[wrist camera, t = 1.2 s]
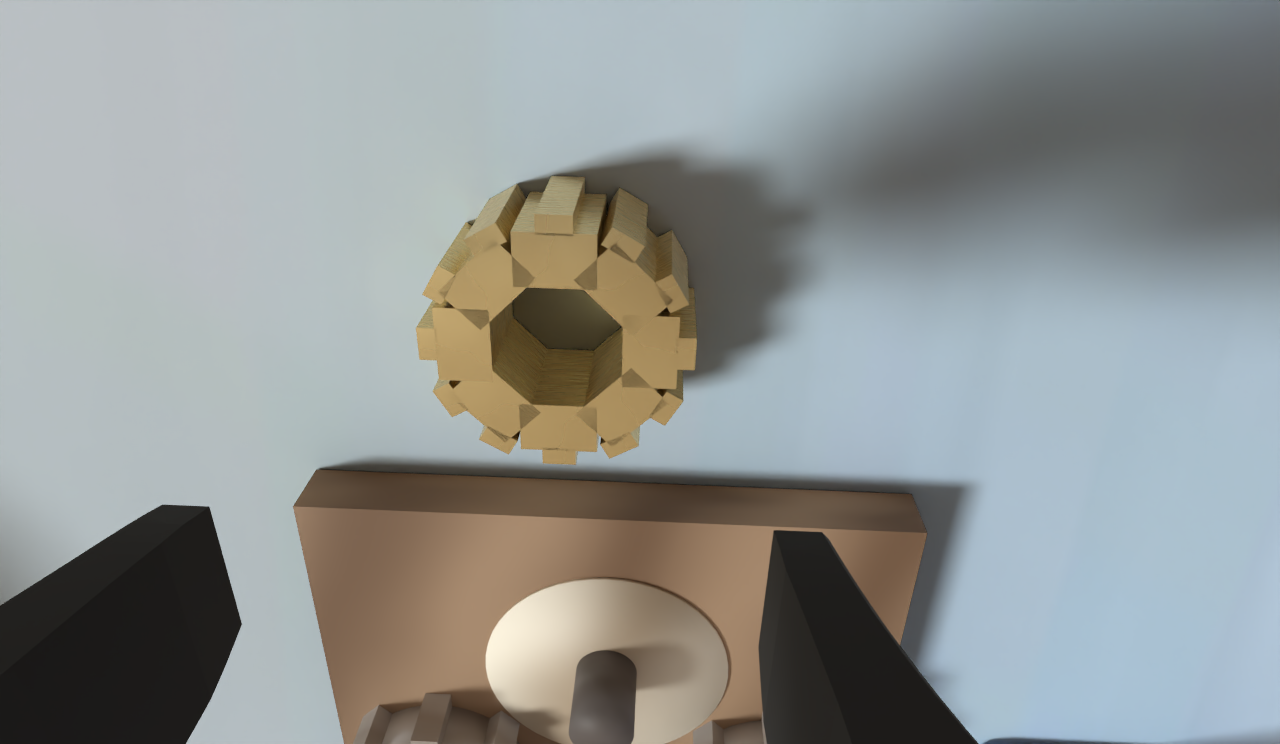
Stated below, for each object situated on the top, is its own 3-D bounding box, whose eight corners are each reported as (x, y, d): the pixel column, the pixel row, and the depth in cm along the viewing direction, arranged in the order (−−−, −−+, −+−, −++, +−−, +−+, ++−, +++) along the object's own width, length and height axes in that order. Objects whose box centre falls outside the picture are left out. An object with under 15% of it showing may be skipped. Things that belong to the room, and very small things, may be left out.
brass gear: (700, 181, 17) (704, 220, 15) (686, 408, 20) (688, 469, 18) (436, 171, 18) (402, 208, 15) (457, 398, 20) (430, 458, 18)
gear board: (911, 494, 21) (953, 597, 18) (838, 816, 27) (860, 934, 24) (316, 469, 21) (254, 567, 18) (379, 794, 28) (341, 908, 24)
